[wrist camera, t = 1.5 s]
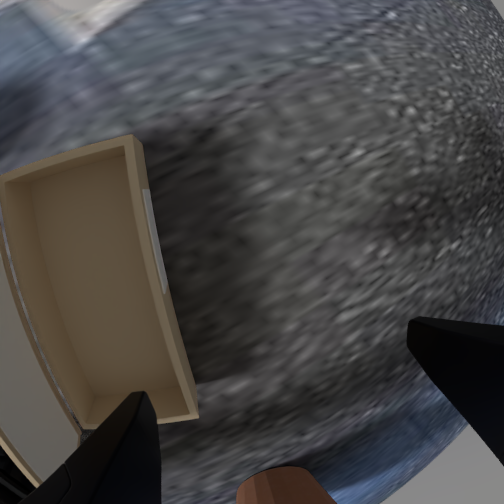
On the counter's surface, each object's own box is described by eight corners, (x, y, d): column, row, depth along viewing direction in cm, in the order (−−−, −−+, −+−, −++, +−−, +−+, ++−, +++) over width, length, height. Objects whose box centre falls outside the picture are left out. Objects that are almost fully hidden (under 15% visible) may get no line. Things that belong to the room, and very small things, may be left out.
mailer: (197, 384, 22) (200, 417, 18) (93, 398, 21) (83, 429, 17) (144, 144, 18) (133, 133, 14) (26, 177, 16) (-3, 176, 13)
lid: (79, 521, 9) (70, 522, 9) (82, 430, 17) (75, 431, 16) (-87, 166, 5) (-96, 172, 4) (-5, 176, 12) (-12, 179, 12)
